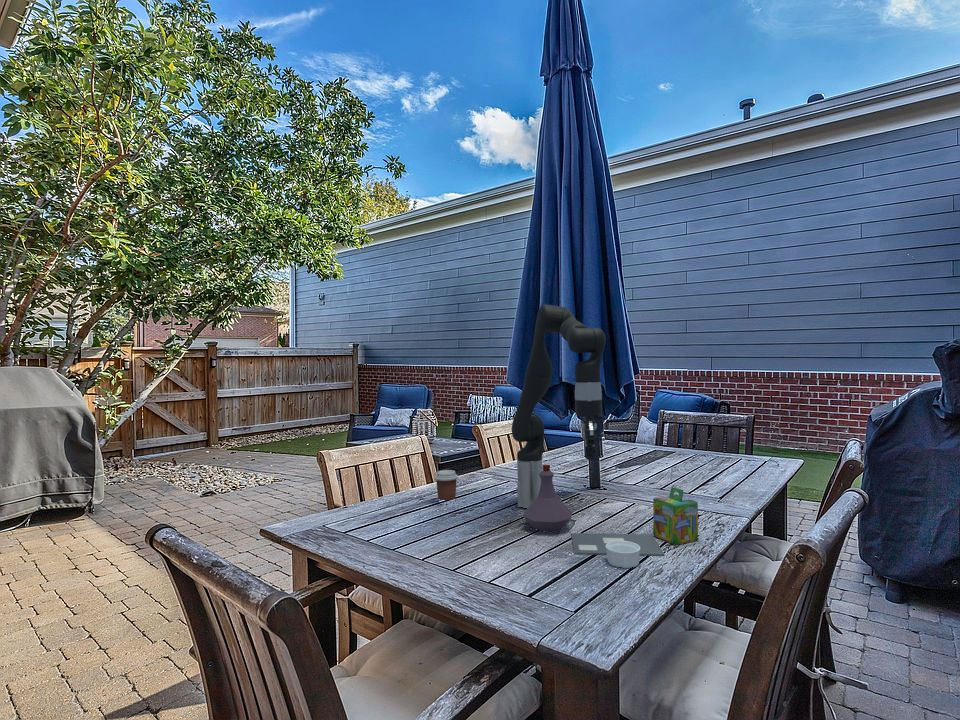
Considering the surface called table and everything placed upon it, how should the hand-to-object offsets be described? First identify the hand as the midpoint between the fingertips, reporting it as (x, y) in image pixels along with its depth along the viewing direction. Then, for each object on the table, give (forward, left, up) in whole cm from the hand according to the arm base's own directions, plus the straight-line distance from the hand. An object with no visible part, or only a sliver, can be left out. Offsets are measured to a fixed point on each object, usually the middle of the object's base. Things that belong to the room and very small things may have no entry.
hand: (590, 459), depth 144 cm
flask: (-12, +17, -26) cm, 33 cm away
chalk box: (+25, +9, -26) cm, 37 cm away
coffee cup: (-50, +44, -25) cm, 72 cm away
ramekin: (+7, -10, -26) cm, 28 cm away
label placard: (+7, +3, -25) cm, 26 cm away
